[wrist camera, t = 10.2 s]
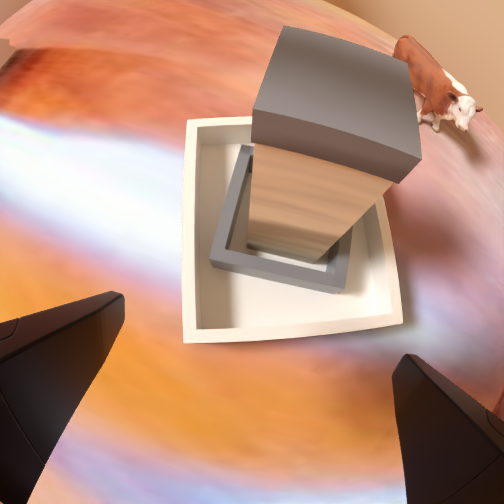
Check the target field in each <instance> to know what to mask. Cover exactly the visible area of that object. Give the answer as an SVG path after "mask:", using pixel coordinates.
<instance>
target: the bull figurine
mask: <svg viewBox="0 0 504 504" xmlns="http://www.w3.org/2000/svg"><path fill="white" fill-rule="evenodd" d="M392 57H394V58H396V59H399V60H401V61H403V62H406V63H408V68H409V72H410V77H411V82H412V86H413V89H414V90H417V91H418V92H419V93H421V94H422V95H423V96H424V97H425V98H426V100H425V103H424V105H423V106H422V108H421V110H420V111H419V112H417V118H418V125H419V124H421V120H422V116H423V115H427V114H428V113H429V112H432V111H433V113H434V114H435V115H436V118H435V120H434V121H432V124H433V126H432V129H433V130H434V131H435V132H439V131H440V129H439V125H440V120H441V119H446V120H450V121H451V120H453V119H454V121H455V122H456V123H455V124H456V127H457V128H458V129H460V130H462V131H464V132H466V131H467V130H468V128H469V127H468V125H469V122H470V120H471V119H472V118H473V117H474V116H475V114H476V112H480V111H482V110H483V108H481V107H477V106H476V102H475V100H474V99H473V98H471V97H469V95H468V92H467V90H466V88H465V87H464V86H463V85H462V84H461V83H459V82H457V80H456V79H455V78H454V77H453V76H451V75H450V74H449V73H447V72H446V71H445V70H444V69H443V68H442V67H441V66H440V65H439V64H438V63H437V62H436V60H435V59H434V58H433V57H432V56H431V55H430V53H429V52H428V51H427V50H425V49H424V48H423V47H422V46H421V45H420V44H419V43H418V42H417V41H416V40H415V39H414V38H413V37H412V36H409V35H404V36H402V37H401V38H400V39H399V40H398V42H397V44H396V46H395V49H394V53H393V56H392Z"/></svg>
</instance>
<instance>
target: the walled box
mask: <svg viewBox="0 0 504 504" xmlns="http://www.w3.org/2000/svg"><path fill="white" fill-rule="evenodd" d="M251 129H252V117H224V118H207V119H194V120H187V130H186V144H185V160H184V178H183V203H182V315H183V340H184V343H215V342H240V341H258V340H273V339H286V338H297V337H308V336H317V335H326V334H335V333H343V332H351V331H358V330H365V329H372V328H378V327H385V326H391V325H397V324H403V316H402V306H401V296H400V288H399V280H398V273H397V266H396V260H395V253H394V248H393V242H392V236H391V231H390V226H389V221H388V216H387V211H386V207H385V202H384V198H383V195H382V196H381V197H380V198H379V199H378V200H377V201H376V202H375V203H374V204H373V205H372V206H371V207H370V208H369V209H368V210H367V211H366V212H365V213H364V214H363V215H362V216H361V217H360V218H359V219H358V220H357V221H356V222H355V223H354V224H353V225H352V226H351V227H350V228H349V229H348V230H347V231H346V232H345V233H344V234H343V235H342V236H341V237H340V238H339V239H338V240H337V241H336V242H335V243H334V244H333V245H332V246H331V247H330V248H329V249H328V250H327V251H326V252H325V253H324V254H323V255H322V256H321V257H320V258H319V259H318V260H317V261H316V262H315V263H314V264H309V263H305V262H301V261H297V260H293V259H289V258H285V257H280V256H276V255H272V254H268V253H264V252H260V251H256V250H252V249H247V235H248V221H249V207H250V194H251V181H252V168H253V154H254V143H252V142H251Z"/></svg>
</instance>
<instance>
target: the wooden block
mask: <svg viewBox="0 0 504 504" xmlns="http://www.w3.org/2000/svg"><path fill="white" fill-rule="evenodd" d="M251 142H252V143H254V154H253V168H252V181H251V194H250V207H249V221H248V235H247V249H252V250H256V251H260V252H264V253H268V254H272V255H276V256H280V257H285V258H289V259H293V260H297V261H301V262H305V263H309V264H314V263H315V262H316V261H317V260H318V259H319V258H320V257H321V256H322V255H323V254H324V253H325V252H326V251H327V250H328V249H329V248H330V247H331V246H332V245H333V244H334V243H335V242H336V241H337V240H338V239H339V238H340V237H341V236H342V235H343V234H344V233H345V232H346V231H347V230H348V229H349V228H350V227H351V226H352V225H353V224H354V223H355V222H356V221H357V220H358V219H359V218H360V217H361V216H362V215H363V214H364V213H365V212H366V211H367V210H368V209H369V208H370V207H371V206H372V205H373V204H374V203H375V202H376V201H377V200H378V199H379V198H380V197H381V196H382V195H383V194H384V193H385V192H386V191H387V189H388V188H389V187H390V186H391V185H392V184H393V183H394V182H395V183H398V184H399V183H400V182H401V181H402V180H403V179H404V178H405V177H406V176H407V175H408V174H409V173H410V171H411V170H412V169H413V168H414V167H415V166H416V165H417V164H418V163H419V162H420V161H421V160H422V154H421V143H420V134H419V126H418V118H417V111H416V105H415V99H414V93H413V87H412V82H411V77H410V72H409V68H408V63H406V62H403V61H401V60H399V59H396V58H394V57H391V56H389V55H386V54H383V53H381V52H378V51H375V50H373V49H370V48H367V47H364V46H361V45H358V44H355V43H352V42H349V41H345V40H342V39H339V38H335V37H331V36H328V35H324V34H320V33H316V32H312V31H308V30H303V29H299V28H294V27H289V26H283V29H282V31H281V34H280V36H279V39H278V41H277V44H276V47H275V49H274V52H273V54H272V57H271V60H270V62H269V65H268V68H267V70H266V73H265V76H264V79H263V81H262V84H261V87H260V90H259V92H258V95H257V98H256V101H255V104H254V107H253V113H252V129H251Z"/></svg>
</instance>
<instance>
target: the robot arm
mask: <svg viewBox="0 0 504 504" xmlns="http://www.w3.org/2000/svg"><path fill="white" fill-rule="evenodd" d="M124 319H125V299H124V296H123V294H121V293H118V292H114V291H109V292H106V293H102V294H99V295H95V296H92V297H89V298H85V299H82V300H78V301H75V302H71V303H68V304H64V305H61V306H58V307H54V308H51V309H47V310H44V311H40V312H37V313H34V314H30V315H27V316H23V317H20V319H19V318H16V319H13V320H9V321H6V322H2V323H0V502H2V503H3V504H27V502H28V500H29V498H30V495H31V493H32V491H33V489H34V487H35V485H36V483H37V481H38V479H39V477H40V475H41V473H42V471H43V469H44V467H45V464H46V463H47V461H48V459H49V457H50V455H51V453H52V451H53V449H54V448H55V446H56V444H57V442H58V440H59V438H60V436H61V435H62V433H63V431H64V429H65V427H66V426H67V424H68V422H69V420H70V419H71V417H72V415H73V413H74V412H75V410H76V408H77V407H78V405H79V403H80V401H81V400H82V398H83V396H84V395H85V393H86V391H87V390H88V388H89V386H90V385H91V383H92V381H93V380H94V378H95V377H96V375H97V373H98V372H99V370H100V369H101V367H102V365H103V364H104V362H105V360H106V358H107V356H108V354H109V352H110V350H111V348H112V346H113V344H114V342H115V339H116V337H117V335H118V333H119V331H120V329H121V327H122V325H123V323H124ZM392 384H393V394H394V405H395V416H396V423H397V428H398V434H399V441H400V447H401V454H402V461H403V469H404V477H405V486H406V497H407V504H504V422H503V421H502V420H501V419H499V418H498V417H497V416H495V415H494V414H493V413H492V412H490V411H489V410H488V409H485V407H484V406H482V405H481V404H480V403H479V402H477V401H476V400H475V399H473V398H472V397H471V396H469V395H468V394H467V393H466V392H464V391H463V390H462V389H460V388H459V387H458V386H456V385H455V384H454V383H452V382H451V381H450V380H449V379H447V378H446V377H445V376H443V375H442V374H441V373H439V372H438V371H437V370H435V369H434V368H433V367H431V366H430V365H429V364H427V363H426V362H425V361H423V360H422V359H421V358H419V357H418V356H417V355H413V354H405V355H404V356H403V357H402V359H401V360H400V362H399V364H398V365H397V367H396V369H395V370H394V372H393V375H392Z"/></svg>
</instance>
